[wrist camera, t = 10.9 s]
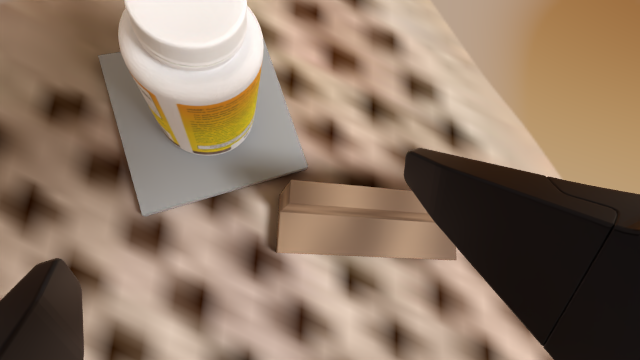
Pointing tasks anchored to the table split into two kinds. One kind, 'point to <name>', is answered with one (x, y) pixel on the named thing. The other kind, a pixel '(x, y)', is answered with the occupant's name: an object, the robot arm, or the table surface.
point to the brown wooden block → (357, 223)
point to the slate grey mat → (191, 169)
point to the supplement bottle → (195, 68)
